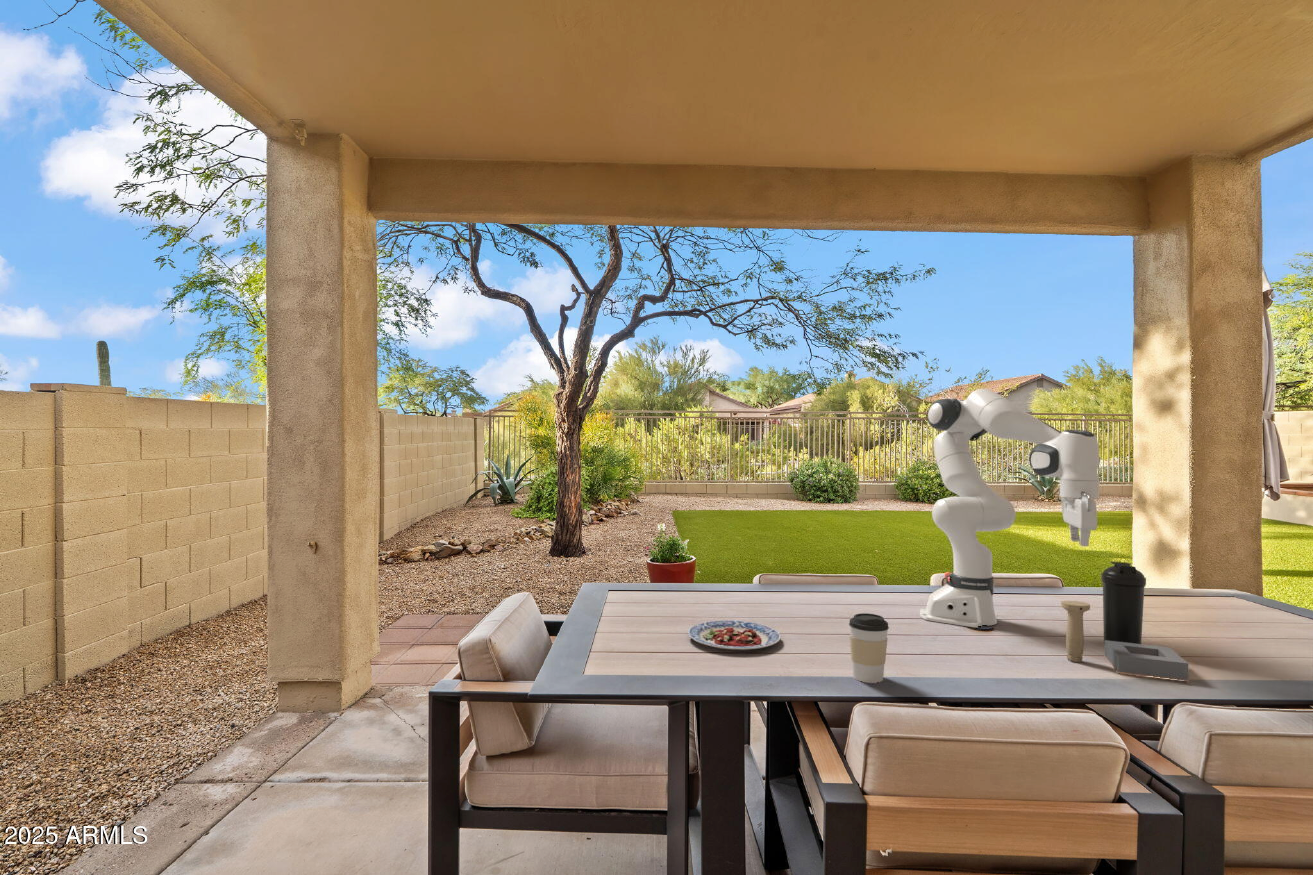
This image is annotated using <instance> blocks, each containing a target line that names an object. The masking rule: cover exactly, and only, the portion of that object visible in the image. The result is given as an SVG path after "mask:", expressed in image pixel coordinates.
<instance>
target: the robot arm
mask: <svg viewBox="0 0 1313 875" xmlns="http://www.w3.org/2000/svg"><path fill="white" fill-rule="evenodd" d="M926 418H927V422H928V424H929V425H930V427H931V428H933V429H935V430H937V431H941V432H940V433H939V434H937V435H936V436H935V438H934V440H933V452H934V457H935V462H936V464H937V468H938V470H939V474H940V476H941V480H942V483H943V485H944V487H945V488H946V489H947V490H948V491H950V492H952V493H954V494H956V495H958V496H949V497H944V498H940V499H938V500H936V501H935V503H934V505H933V507H932V511H931V517H932V520H933V522H934V524H935V525H936V526H937V528H938V529H940V530H941V531H942V532H944V534H945V535H946V537H947V538H948V540H949V543H950V545H951V550H952V557H953V558H952V560H953V562H952V563H953V572H949V571H946V572H944V578H945V580H946V581H945V582H946V584H944V585H943V586H942V587H940V588H938V589H937V590H935V591H933V592H931V594H930V595H929V597H928V598H927V603H926V606H925V607H921V608H920V609H919V617H920V618H922V619H923V620H924V621H931V622H937V623H944V624H949V625H956V626H961V627H962V626H963V627H970V628H979V627H978V626H981V625H987V626H988V627H989V626H994V625H997V624H998V619H997V616H996V613H995V607H994V598H993V596H994V592H995V580H994V576H993V553H992V551H991V550H990V548H988V547H987V546H986V545H985V544H982V543H981V542H979V540H978V537H977V532H998V531H1002V530H1003V531H1004V530H1005V529H1009V528H1011V527H1012V526H1013V525H1014V522H1015V519H1016V509H1015V507H1014V505H1013V504H1012V503H1011V501H1010V500H1008V499H1007V498H1004V497H1002V496H1001V495H999V494H998V493H997V492H995V491H994V490H993V489H992V488H991V487H990V486H989V485H988V484H987V483H986V481H985V480H984V479H983V477H982V476H981V474H980V472H979V470H978V467H977V465H976V464H977V463H976V462H975V460H974V457H973V454H972V453H971V449H970V447H969V446H970V445H969V444H970V442H972V441H973V442H975V441H978V440H979V439H980V438H981V437H982V436H984V435H986V434H987V433H988V434H991V436H994V437H996V438H999V439H1005V440H1014V441H1015V440H1016V441H1024V442H1030V443H1032V444H1033V443H1034V444H1036V445H1035V446H1034V447H1033V448H1032V449H1031V451H1030V453H1029V456H1028V458H1029V459H1028V461H1029V466H1030V468H1031V470H1032V471H1033V473H1034V474H1036V475H1037V476H1040V477H1044V478H1059V488H1058V495H1059V497H1060V498H1061V499H1060V501H1061V512H1062V518H1063V522H1064V523H1066V524H1069V525H1068V528H1069V534H1070V541H1072V542H1079V543H1078V544H1079V546H1081V547H1089V545H1090V536H1091V531H1096V530H1097V527H1098V513H1097V503H1096V501H1095V500H1096V499H1100V477H1099V474H1098V471H1099V467H1100V464H1101V459H1100V448H1099V441H1098V438H1097V436H1096V434H1095V433H1093V432H1091V431H1088V430H1082V429H1065V430H1062V431H1060V430H1059V429H1057V428H1055V427H1054V426H1052V425H1050V424H1049V423H1047V422H1045V421H1043V420H1042V419H1039V418H1037V417H1035V416H1034V415H1032V414H1030V413H1028V412H1027V411H1025V410H1024V409H1022V408H1020V407H1018V405H1016V404H1014V402H1013V403H1012V402H1011V400H1008V399H1007V398H1005V397H1004V396H1002V395H1000V394H999V393H998V392H995V391H993V390H991V389H988V388H978V389H976V390H973V391H972V392H971V393H970V394H969V395H968V396H967V397H966V399H965V400H959V399H957V398H956V397H954V398H941V399H937V400H935V401H933V402H932V403H931V404H930V406H929V408H928V409H927V413H926ZM987 626H986V627H987ZM981 627H982V626H981Z"/></svg>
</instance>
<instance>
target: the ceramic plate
mask: <svg viewBox="0 0 1313 875" xmlns="http://www.w3.org/2000/svg"><path fill="white" fill-rule="evenodd" d="M688 636H689V637H690V638H691V639H692V640H693V641H695V642H697V643H699V644H702V645H705V646H707V647H708V646H709V647H713V648H716V649H721V650H727V651H728V650H729V651H749V650H756V649H757V650H758V649H763V648H767V647H771V646H773V645H775V644H777V643H778V642H779V641H780V640H781V636H782V635H781V634H780V633H779V631H778V630H776V629H774V628H772V627H770V626H767V625H765V624H762V623H757V622H752V621H747V620H746V621H744V620H735V619H734V620H733V619H732V620H731V619H730V620H728V619H727V620H725V619H724V620H710V621H705V622H701V623H697V624H696V625H695V624H694V625H693V626H692V627H690V628H689V629H688Z"/></svg>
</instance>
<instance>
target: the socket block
mask: <svg viewBox="0 0 1313 875" xmlns="http://www.w3.org/2000/svg"><path fill="white" fill-rule="evenodd" d="M1103 649H1104V654H1103V655H1104V659H1105V660H1106V661H1107V660H1108V661H1109V662H1108V661H1107V662H1108V664H1110V666H1111V665H1112V666H1113V667H1114V668H1113V667H1112V666H1111V667H1112V668H1113V669H1114V671H1115V672H1116V671H1117V672H1118V673H1121V674H1120V675H1125V674H1130V675H1129V676H1133V675H1138V676H1137V677H1141V676H1153V677H1160V678H1169V679H1177V680H1184V681H1188V682H1189V662H1187V661H1186V660H1185V659H1184V658H1182V657H1181V656H1180V655H1179V654H1178V653H1177V652H1175V651H1174V649H1172V648H1171V647H1169V646H1161V645H1153V644H1145V643H1143V644H1142V643H1141V644H1135V643H1126V642H1117V641H1108V640H1105V645H1104V648H1103ZM1117 672H1116V673H1117ZM1118 673H1117V674H1118Z"/></svg>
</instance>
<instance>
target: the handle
mask: <svg viewBox="0 0 1313 875" xmlns="http://www.w3.org/2000/svg"><path fill="white" fill-rule="evenodd" d="M1060 604H1061V605H1060V606H1061V607H1062V608H1063V609H1064V610H1066V611H1067V622H1066V623H1067V624H1066V635H1065V646H1066V653H1067V654H1066V659H1067V660H1068V661H1070V662H1071V663H1073V662H1074V663H1081V662H1082V661H1083V654H1084V648H1085V633H1084V630H1085V629H1084V613H1086V612H1087V611H1090V610H1091V604H1090V603H1088V602H1085V601H1079V600H1078V601H1077V600H1064V601H1063V600H1062V601H1061V602H1060Z"/></svg>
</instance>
